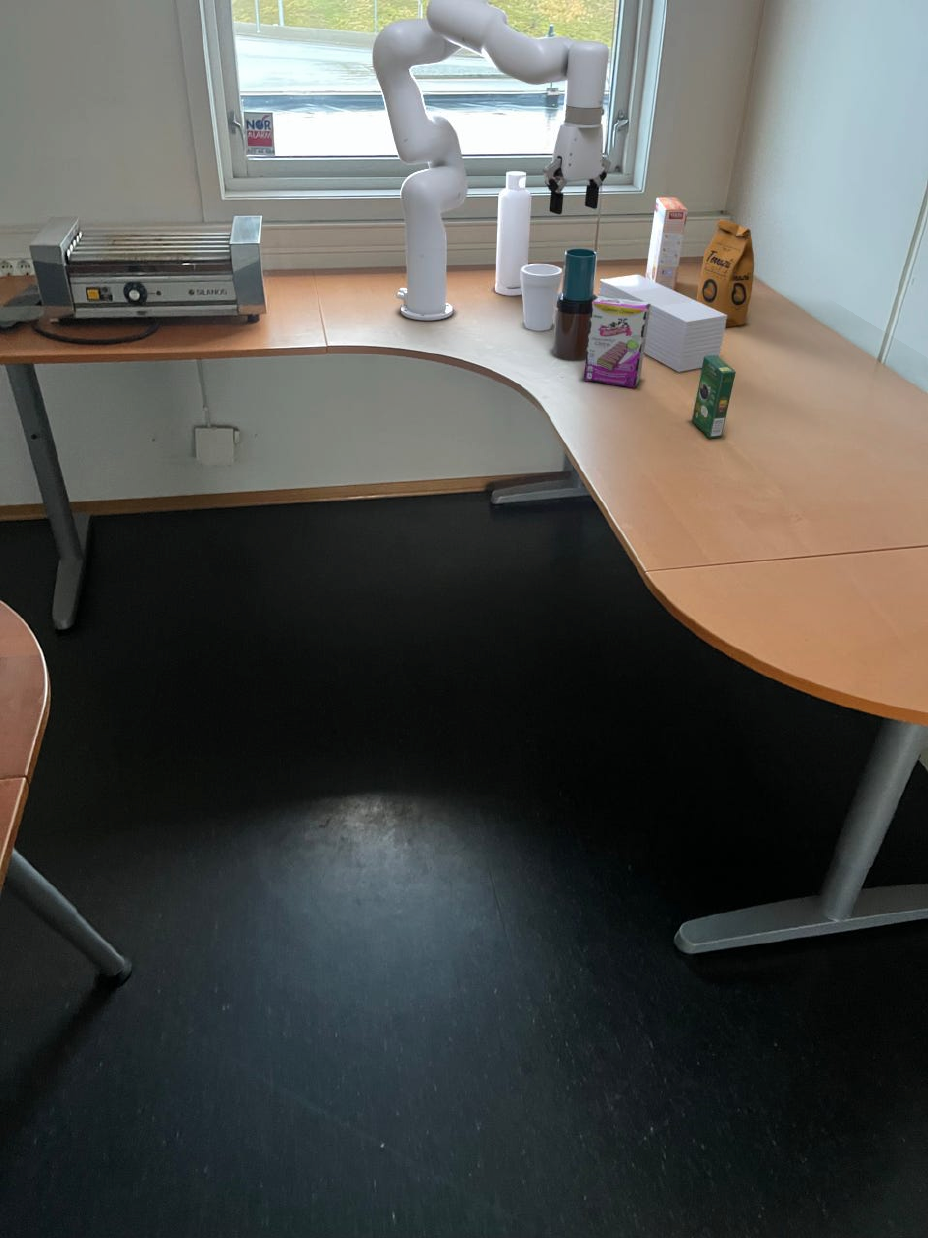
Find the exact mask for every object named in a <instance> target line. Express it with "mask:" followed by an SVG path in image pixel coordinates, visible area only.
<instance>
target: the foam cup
mask: <svg viewBox="0 0 928 1238" xmlns="http://www.w3.org/2000/svg"><path fill="white" fill-rule="evenodd" d="M520 280H521V284H522V294H521V296H522V310H523V323H524V327H525V328H526V329H528V330H531V331H536V332H537V331H539V332H541V331H542V332H543V331H548V330H550V329H551V328H552V324H553V319H554V316H555V312H556V303H557V295H558V294H559V290H560V285H561V284H562V281H563V269H562V268H561V267H560V266H557V265H553V264H548V263H531V264H528V265H526V266H523V267H522V268H521V277H520Z"/></svg>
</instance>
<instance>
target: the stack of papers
mask: <svg viewBox="0 0 928 1238" xmlns="http://www.w3.org/2000/svg"><path fill="white" fill-rule="evenodd" d="M645 277H646V276H643V275H641V274H632V275H625V276H617V277H611V278H602V279H600V281H599V289H598V296H604V297H612V298H619V299H626V300H634V301H642V302H649V303H651V307H650V314H649V320H648V327H647V333H646V341H645V347H644V354H645V355H647V356H648V357H651V358H652V359H654V360H656V361H658V362H659V363H661V364H663V365H664V366H667V367H668V368H670V369H672V370H674V371H675V372H677V373H681V372H686V371H691V370H696V369H702V364H703V359H704V356H707V355H717V356H718V357H719V358H721V357H720V356H721V351H722V346H723V341H724V336H725V331H726V330H725V329H726V327H725V324H726V319H727V315H726V314H723V313H721V312H719V311H717V310H715V309H712V308H710V307H708V306H706V305H704V304H702V303H699V302H697V300H695V299H693V298H691V297H688V296H687V295H683V294H682V293H679V292H677V291H676V290H675V291H673V290H671V289H669V288H667V287H665V286H662V285H660V284H658V283H656V282H654V281H651V280H649V279H647V278H645Z"/></svg>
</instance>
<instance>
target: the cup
mask: <svg viewBox="0 0 928 1238" xmlns="http://www.w3.org/2000/svg"><path fill="white" fill-rule="evenodd" d="M563 259H564V261H563V270H562V282H561V285H562V286H561V292H562V297H563V298H564V299H567V300H570V301H588V300H591V299H592V298H593V294H594V292H595V284H596V283H595V281H596V274H597V273H596V271H597V264H598V262H597V261H598V252H597V251H595V250H593V249H589V248H581V247H579V248H569V249H566V250H565V252H564V258H563Z"/></svg>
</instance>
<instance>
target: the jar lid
mask: <svg viewBox="0 0 928 1238" xmlns="http://www.w3.org/2000/svg"><path fill="white" fill-rule="evenodd" d="M596 297H597V295H596V294H594V293H593V298H592V299H591V300H588V301H570V300H567V299H564V298H563V297H562V291H561V292H558V295H557V301H556V306H555V308H556V307H557V309H559V310H561V311H563V312H567V313H574V314H584V313H590V312H591V307H592V302H593V300H595V298H596Z"/></svg>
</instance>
